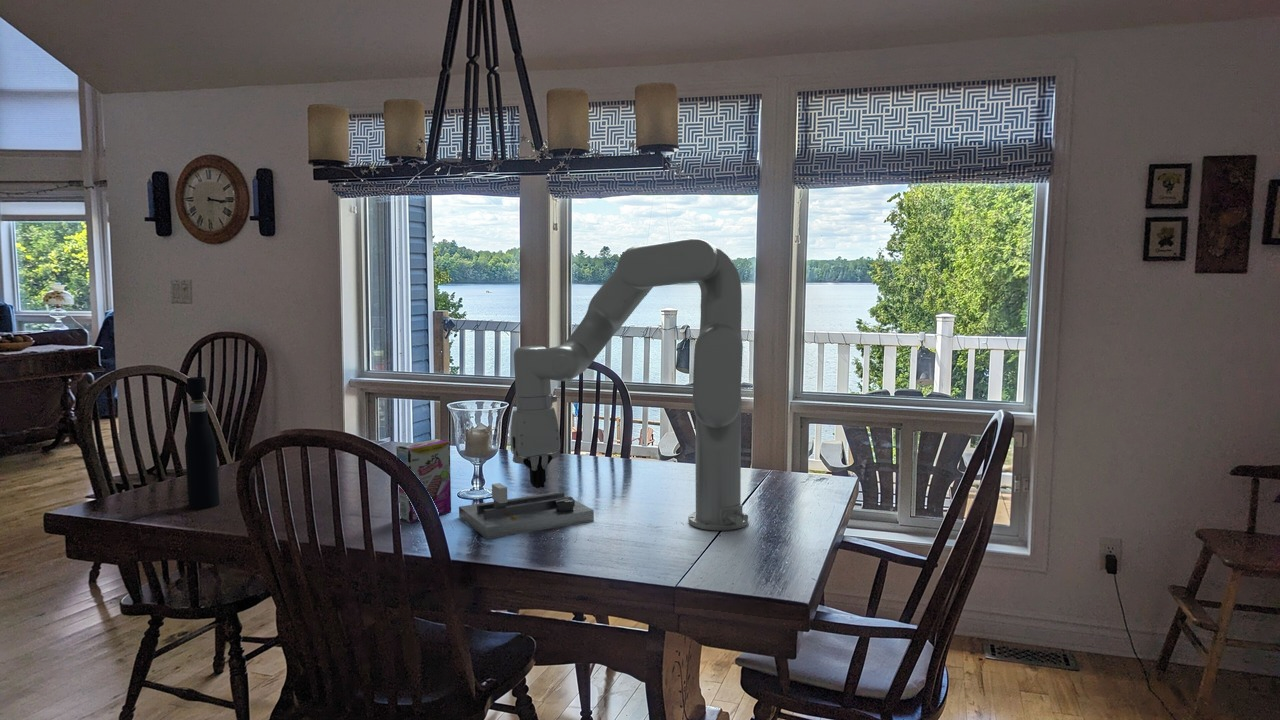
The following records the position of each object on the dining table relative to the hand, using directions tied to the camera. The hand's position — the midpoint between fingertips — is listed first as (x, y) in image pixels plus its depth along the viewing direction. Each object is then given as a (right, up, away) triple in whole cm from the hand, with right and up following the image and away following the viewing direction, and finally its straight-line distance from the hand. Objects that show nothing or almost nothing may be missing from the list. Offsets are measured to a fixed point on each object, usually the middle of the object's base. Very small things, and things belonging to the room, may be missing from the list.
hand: (538, 486), depth 185 cm
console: (-3, -7, 0) cm, 8 cm away
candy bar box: (-25, -7, +3) cm, 26 cm away
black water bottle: (-80, -7, +13) cm, 81 cm away
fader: (-8, -5, -3) cm, 10 cm away
